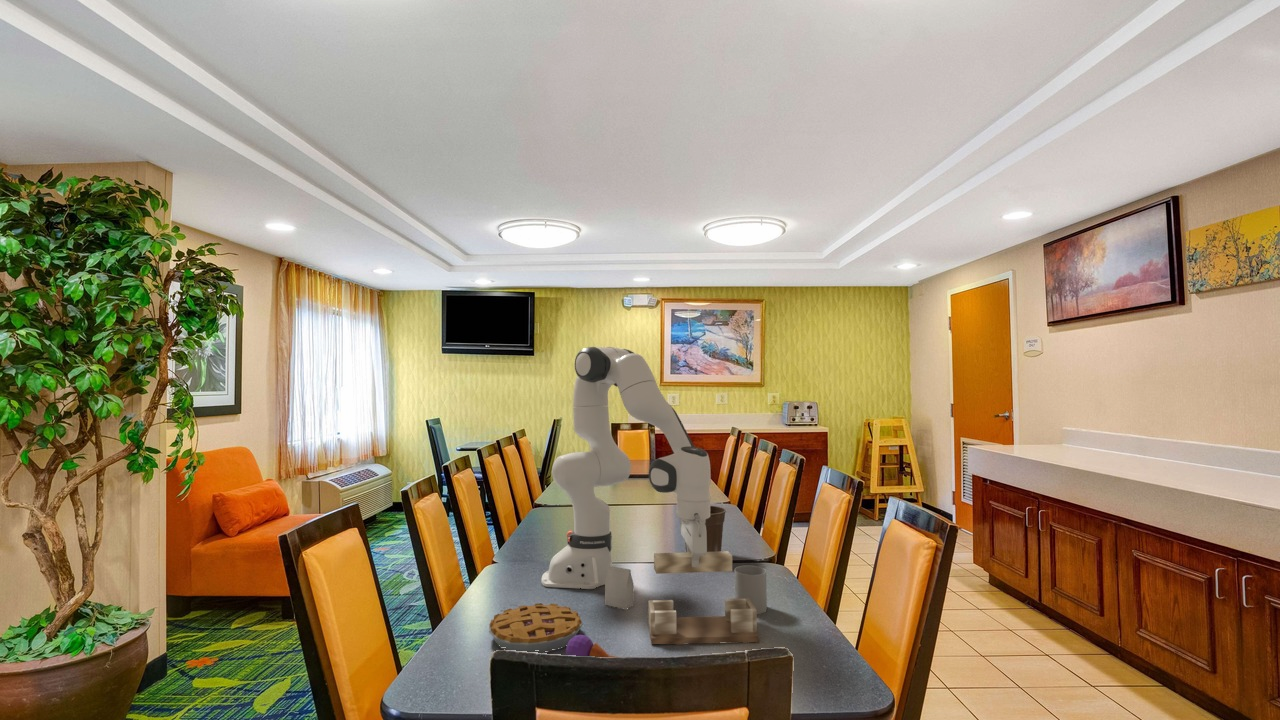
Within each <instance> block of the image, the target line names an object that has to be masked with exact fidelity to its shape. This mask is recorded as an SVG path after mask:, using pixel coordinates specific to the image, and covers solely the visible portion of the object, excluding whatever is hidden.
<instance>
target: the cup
mask: <svg viewBox="0 0 1280 720" xmlns="http://www.w3.org/2000/svg"><path fill="white" fill-rule="evenodd" d="M767 596H768V595H767V570H766V569H765V568H763V567H760V566H757V565H740V566H736V567H735V568H734V599H750V601H751V602H752V604H753V605H754V607H755V609H756V610H757V615H760V614H763V613H766V611H767V604H768V603H767V601H768V600H767V599H768V598H767Z"/></svg>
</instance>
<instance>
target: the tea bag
mask: <svg viewBox="0 0 1280 720" xmlns="http://www.w3.org/2000/svg"><path fill="white" fill-rule="evenodd" d="M631 571H632V570H631V569H628V568H623V567H617V566H614V565H612V566H608V573H607V577H606V581H605V585H604V605H605V606H606V605H609V606H608V607H611V606H614V607H613V608H615V607H618V608H617V609H620V608H624V609H623V610H625V609H627V608H629V607H630V608H632V607H633V606H634V581H633V577H632V573H631ZM632 605H633V606H632ZM631 606H632V607H631ZM630 608H629V609H630ZM627 610H628V609H627Z"/></svg>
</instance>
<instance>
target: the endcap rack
mask: <svg viewBox="0 0 1280 720" xmlns="http://www.w3.org/2000/svg"><path fill="white" fill-rule="evenodd" d="M648 626H649V627H648ZM647 627H648V633H649V638H650V645H651V644H676V645H685V644H684V643H720V642H743V643H742V644H750V643H749V642H756V643H757V644H760V635H759V633H758V614H757V610H756V609H755V607H754V605H753V604H752V602H751V601H750V599H735V598H725V599H724V615H719V616H717V615H715V616H678V617H677V610H676V609H675V610H674V600H673V599H660V600H659V599H658V600H657V599H653V600H648V618H647ZM747 642H748V643H747ZM756 643H755V644H756ZM720 644H721V643H720Z"/></svg>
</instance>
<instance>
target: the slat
mask: <svg viewBox="0 0 1280 720" xmlns="http://www.w3.org/2000/svg"><path fill="white" fill-rule="evenodd" d="M691 556H692V554H691V552H686V551H685V552H656V553H654V554H653V558H654V559H653V570H654V571H655V574H658V575H659V574H661V575H662V574H663V575H664V574H689V573H690V574H691V573H717V572H718V573H721V572H722V573H723V572H733V555H732V554H731V553H730V552H729V550H728V551H727V550H725V551H722V550H721V551H720V552H707V553H706V555H705V556H700V557H699V566H698V567H692V565H691Z"/></svg>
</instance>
